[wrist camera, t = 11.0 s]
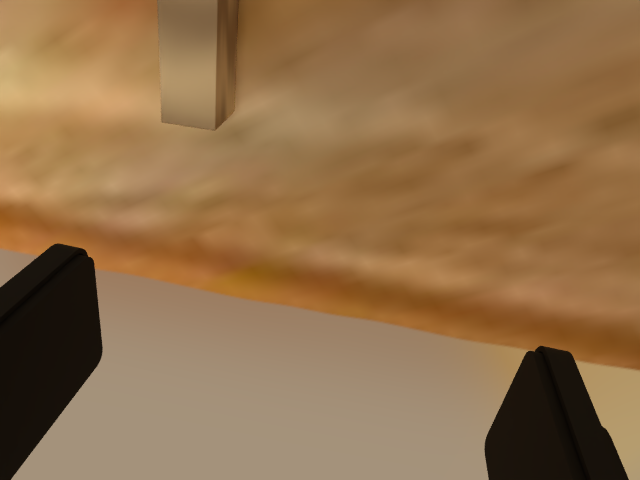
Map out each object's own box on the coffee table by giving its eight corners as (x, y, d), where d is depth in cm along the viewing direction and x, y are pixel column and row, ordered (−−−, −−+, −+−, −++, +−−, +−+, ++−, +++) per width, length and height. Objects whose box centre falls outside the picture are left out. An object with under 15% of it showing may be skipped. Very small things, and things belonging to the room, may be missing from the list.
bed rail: (243, 112, 33) (221, 136, 29) (178, 102, 33) (146, 124, 29) (254, -124, 27) (228, -141, 22) (173, -135, 27) (132, -154, 23)
